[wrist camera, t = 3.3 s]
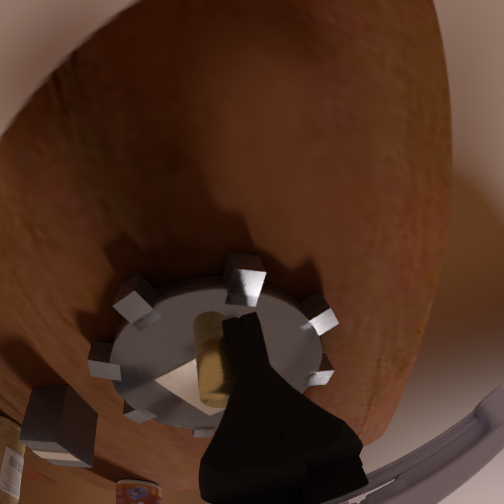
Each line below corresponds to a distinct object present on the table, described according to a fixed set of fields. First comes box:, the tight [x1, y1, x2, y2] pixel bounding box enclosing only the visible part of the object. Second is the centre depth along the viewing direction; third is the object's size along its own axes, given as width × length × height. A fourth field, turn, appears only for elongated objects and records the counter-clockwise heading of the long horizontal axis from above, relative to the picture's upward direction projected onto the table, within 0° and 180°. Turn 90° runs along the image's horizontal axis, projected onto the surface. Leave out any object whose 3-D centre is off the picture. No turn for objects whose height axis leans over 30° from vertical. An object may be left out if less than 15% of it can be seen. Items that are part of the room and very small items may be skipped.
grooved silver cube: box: [19, 384, 98, 468], centre depth 14 cm, size 4×4×5 cm
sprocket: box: [88, 252, 339, 437], centre depth 14 cm, size 14×14×6 cm
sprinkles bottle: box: [0, 416, 26, 504], centre depth 12 cm, size 5×5×13 cm
